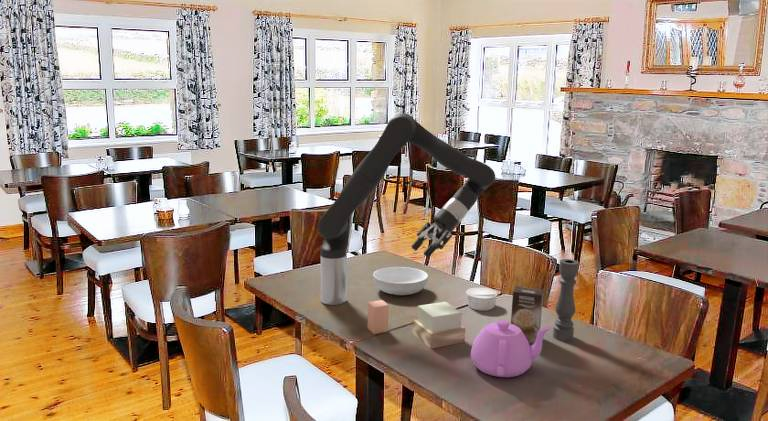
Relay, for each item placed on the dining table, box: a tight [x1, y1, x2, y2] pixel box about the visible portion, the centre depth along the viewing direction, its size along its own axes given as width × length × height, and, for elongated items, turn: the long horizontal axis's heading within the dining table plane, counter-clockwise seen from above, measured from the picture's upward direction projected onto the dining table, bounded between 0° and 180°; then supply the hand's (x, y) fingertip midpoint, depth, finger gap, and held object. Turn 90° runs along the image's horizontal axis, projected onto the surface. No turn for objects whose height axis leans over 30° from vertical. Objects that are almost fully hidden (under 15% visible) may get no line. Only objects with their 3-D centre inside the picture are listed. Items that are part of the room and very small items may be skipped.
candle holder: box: [552, 258, 580, 342], centre depth 196 cm, size 6×6×25 cm
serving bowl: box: [372, 266, 429, 296], centre depth 237 cm, size 21×21×7 cm
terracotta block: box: [367, 299, 390, 335], centre depth 201 cm, size 5×5×9 cm
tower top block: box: [416, 301, 463, 332], centre depth 195 cm, size 10×10×5 cm
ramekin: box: [465, 287, 498, 312], centre depth 223 cm, size 11×11×5 cm
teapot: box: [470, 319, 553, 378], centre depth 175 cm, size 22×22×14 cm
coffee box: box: [510, 285, 544, 344], centre depth 195 cm, size 9×6×16 cm
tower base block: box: [412, 318, 466, 349], centre depth 196 cm, size 12×12×5 cm
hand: (419, 252), depth 202 cm, fingers open, 8 cm apart
